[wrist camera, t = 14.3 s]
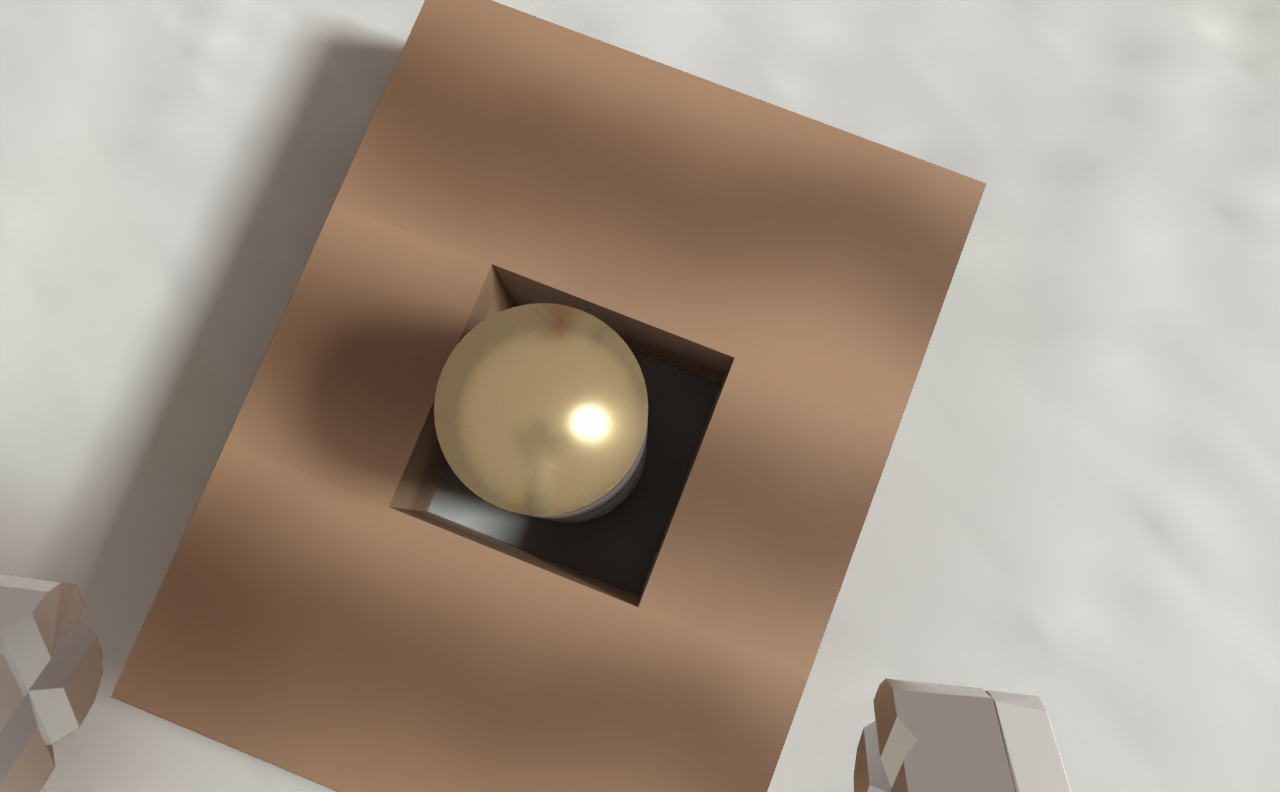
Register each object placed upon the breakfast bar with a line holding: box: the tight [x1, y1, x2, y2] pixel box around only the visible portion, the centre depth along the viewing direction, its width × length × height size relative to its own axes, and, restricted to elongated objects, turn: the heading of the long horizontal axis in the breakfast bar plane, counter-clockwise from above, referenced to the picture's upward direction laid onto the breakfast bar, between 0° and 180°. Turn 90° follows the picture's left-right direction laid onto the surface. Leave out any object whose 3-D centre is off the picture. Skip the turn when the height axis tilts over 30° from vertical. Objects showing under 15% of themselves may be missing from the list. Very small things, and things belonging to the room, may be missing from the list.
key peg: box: [434, 303, 648, 523], centre depth 23 cm, size 4×4×8 cm
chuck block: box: [111, 0, 986, 792], centre depth 25 cm, size 18×14×4 cm
